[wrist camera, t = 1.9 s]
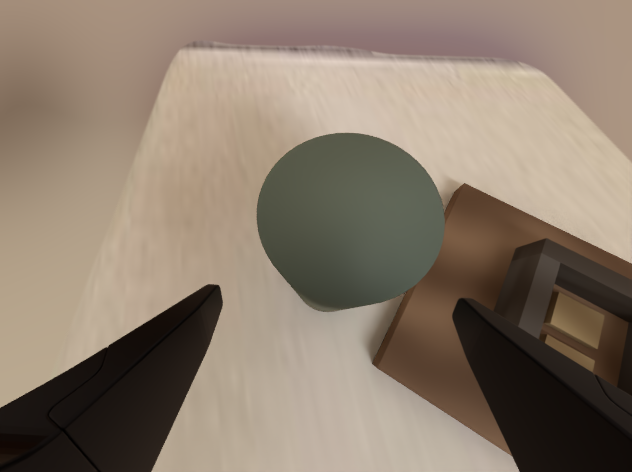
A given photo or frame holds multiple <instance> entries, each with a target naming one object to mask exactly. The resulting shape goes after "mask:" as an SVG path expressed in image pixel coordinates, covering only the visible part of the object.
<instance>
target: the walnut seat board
mask: <svg viewBox="0 0 632 472" xmlns="http://www.w3.org/2000/svg"><path fill="white" fill-rule="evenodd" d="M444 218H445V229H444V237H443V242H442V246H441V249H440V251H439V254H438V256H437V258H436V260H435V262H434V264H433V266H432V267H431V268H430V270H429V271H428V272H427V274H426V275H425V276H424V277H423V278H422V279H421V280H420V281H419V282H418V283H417V284H416V285H414V286H413V287H412V288H410V289H409V290H408V291H407V292H406V294H405V296H404V298H403V300H402V302H401V305H400V307H399V309H398V311H397V313H396V315H395V317H394V319H393V321H392V323H391V326H390V328H389V330H388V332H387V334H386V336H385V338H384V340H383V342H382V344H381V346H380V349H379V351H378V353H377V355H376V357H375V359H374V361H373V363H372V364H373V365H374V366H376V367H377V368H378V369H379V370H381V371H383V372H384V373H386V374H387V375H389V376H390V377H392V378H393V379H395V380H396V381H398V382H399V383H401V384H402V385H404V386H406V387H407V388H409V389H410V390H412V391H413V392H415V393H416V394H418V395H419V396H421V397H422V398H424V399H425V400H427V401H428V402H430V403H432V404H433V405H435V406H436V407H438V408H439V409H441V410H442V411H444V412H445V413H447V414H448V415H450V416H451V417H453V418H455V419H456V420H458V421H459V422H461V423H462V424H464V425H465V426H467V427H468V428H470V429H471V430H473V431H474V432H476V433H477V434H479V435H481V436H482V437H484V438H485V439H487V440H488V441H490V442H491V443H493V444H494V445H496V446H497V447H499V448H500V449H502V450H503V451H505V452H507V453H508V454H510V455H511V456H512V454H511V452H510V450H509V448H508V446H507V444H506V442H505V439H504V437H503V435H502V433H501V431H500V429H499V427H498V425H497V423H496V420H495V418H494V416H493V414H492V412H491V410H490V408H489V406H488V404H487V401H486V399H485V397H484V395H483V393H482V391H481V389H480V387H479V385H478V382H477V380H476V378H475V376H474V374H473V372H472V370H471V368H470V365H469V363H468V361H467V359H466V356H465V353H464V351H463V348H462V345H461V342H460V339H459V337H458V334H457V331H456V328H455V325H454V323H453V320H452V313H453V310H454V308H455V306H456V303H457V301H458V299H459V298H461V297H464V298H472V299H474V300H476V301H478V302H479V303H481V304H482V305H484V306H486V307H487V308H489V309H491V310H492V311H494V312H495V313H497V314H499V315H500V316H502V317H504V318H505V319H507V320H508V321H510V322H512V323H513V324H515V325H517V326H518V327H520V328H521V329H523V330H525V331H526V332H528V333H530V334H531V335H533V336H534V337H536V338H538V339H539V340H541V341H543V342H544V343H546V344H547V345H549V346H551V347H552V348H554V349H556V350H557V351H559V352H560V353H562V354H564V355H565V356H567V357H569V358H570V359H572V360H573V361H575V362H577V363H578V364H580V365H582V366H583V367H585V368H586V369H588V370H590V371H591V372H593V373H594V375H598V376H600V377H601V378H603V379H604V380H606V381H608V382H609V383H611V384H612V385H614V386H616V387H617V388H619V389H621V390H622V391H624V392H626V393H627V394H629V395H631V396H632V264H631V263H629V262H627V261H625V260H623V259H621V258H619V257H617V256H615V255H613V254H610V253H608V252H606V251H604V250H602V249H600V248H598V247H596V246H594V245H592V244H590V243H588V242H586V241H583V240H581V239H579V238H577V237H575V236H573V235H571V234H569V233H567V232H565V231H563V230H561V229H559V228H556V227H554V226H552V225H550V224H548V223H546V222H544V221H542V220H540V219H538V218H536V217H534V216H532V215H529V214H527V213H525V212H523V211H521V210H519V209H517V208H515V207H513V206H511V205H509V204H507V203H505V202H502V201H500V200H498V199H496V198H494V197H492V196H490V195H488V194H486V193H484V192H482V191H480V190H478V189H475V188H473V187H471V186H469V185H467V184H465V183H464V184H463V185H462V186H461V187H459V188H458V189H457V190H456V191H455V192H454V194H453V196H452V198H451V200H450V202H449V204H448V206H447V208H446V210H445V213H444Z"/></svg>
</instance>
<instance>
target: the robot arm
mask: <svg viewBox="0 0 632 472" xmlns="http://www.w3.org/2000/svg"><path fill="white" fill-rule="evenodd" d="M222 306H223V300H222V295H221V289H220V286H219V285H214V284H208V285H206V286H204V287H202V288H201V289H199V290H198V291H196V292H194V293H193V294H191V295H190V296H188V297H186V298H185V299H183V300H182V301H180V302H178V303H177V304H175V305H173V306H172V307H170V308H169V309H167V310H165V311H164V312H162V313H161V314H159V315H157V316H156V317H154V318H152V319H151V320H149V321H148V322H146V323H144V324H143V325H141V326H140V327H138V328H136V329H135V330H133V331H131V332H130V333H128V334H127V335H125V336H123V337H122V338H120V339H119V340H117V341H115V342H114V343H112V344H110V345H109V346H108V348H107V347H106V348H104V349H102V350H101V351H99V352H97V353H96V354H94V355H93V356H91V357H89V358H88V359H86V360H84V361H83V362H81V363H79V364H78V365H76V366H74V367H73V368H71V369H69V370H67V371H66V372H64V373H62V374H60V375H59V376H57V377H55V378H53V379H52V380H50V381H48V382H46V383H45V384H43V385H41V386H39V387H37V388H36V389H34V390H32V391H30V392H28V393H26V394H25V395H23V396H21V397H19V398H18V399H16V400H14V401H12V402H10V403H8V404H7V405H5V406H3V407H1V408H0V472H151V471H152V469H153V467H154V465H155V462H156V460H157V458H158V456H159V454H160V452H161V449H162V447H163V445H164V443H165V441H166V439H167V436H168V434H169V432H170V430H171V428H172V426H173V423H174V421H175V419H176V417H177V415H178V413H179V410H180V408H181V406H182V404H183V402H184V399H185V397H186V395H187V393H188V391H189V389H190V386H191V384H192V382H193V380H194V378H195V376H196V373H197V371H198V369H199V367H200V365H201V363H202V360H203V358H204V356H205V354H206V352H207V349H208V347H209V345H210V342H211V339H212V336H213V333H214V330H215V327H216V324H217V321H218V318H219V315H220V312H221V309H222ZM452 320H453V323H454V325H455V328H456V331H457V334H458V337H459V339H460V342H461V345H462V348H463V351H464V353H465V356H466V359H467V361H468V363H469V365H470V368H471V370H472V372H473V374H474V376H475V378H476V380H477V382H478V385H479V387H480V389H481V391H482V393H483V395H484V397H485V399H486V401H487V404H488V406H489V408H490V410H491V412H492V414H493V416H494V418H495V420H496V423H497V425H498V427H499V429H500V431H501V433H502V435H503V437H504V439H505V442H506V444H507V446H508V448H509V450H510V452H511V454H512V456H513V459H514V461H515V463H516V465H517V467H518V469H519V471H520V472H632V396H631V395H629V394H627V393H626V392H624V391H622V390H621V389H619V388H617V387H616V386H614V385H612V384H611V383H609V382H608V381H606V380H604V379H603V378H601V377H600V376H598V375H594V373H593V372H591V371H590V370H588V369H586V368H585V367H583V366H582V365H580V364H578V363H577V362H575V361H573V360H572V359H570V358H569V357H567V356H565V355H564V354H562V353H560V352H559V351H557V350H556V349H554V348H552V347H551V346H549V345H547V344H546V343H544V342H543V341H541V340H539V339H538V338H536V337H534V336H533V335H531V334H530V333H528V332H526V331H525V330H523V329H521V328H520V327H518V326H517V325H515V324H513V323H512V322H510V321H508V320H507V319H505V318H504V317H502V316H500V315H499V314H497V313H495V312H494V311H492V310H491V309H489V308H487V307H486V306H484V305H482V304H481V303H479V302H478V301H476V300H474V299H472V298H464V297H461V298H459V299H458V301H457V303H456V306H455V308H454V310H453V313H452Z"/></svg>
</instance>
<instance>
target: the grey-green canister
mask: <svg viewBox="0 0 632 472" xmlns="http://www.w3.org/2000/svg"><path fill="white" fill-rule="evenodd" d="M257 225H258V232H259V235H260V239H261V243H262V245H263V247H264V250H265V252H266V254H267V256H268V257H269V259H270V261H271V262H272V264H273V265H274V266H275V268H276V269H277V270H278V271H279V272H280V274H281V275H282V276H283V277H284V278H285V280H286V281H287V282H288V283H289V284H290V285H291V287H292V288H293V289H294V290H295V291H296V293H297V294H298V295H299V296H300V297H301V298H302V300H303V301H304V302H305V303H306V304H307V305H309V306H310V307H312V308H313V309H316V310H318V311H323V312H333V311H338V310H343V309H349V308H354V307H360V306H365V305H371V304H375V303H380V302H384V301H387V300H389V299H392V298H395V297H397V296H399V295H401V294H402V293H404V292H406V291H408V290H409V289H410V288H412V287H413V286H414V285H416V284H417V283H418V282H419V281H420V280H421V279H422V278H423V277H424V276H425V275H426V274H427V272H428V271H429V270H430V268H431V267H432V266H433V264H434V262H435V260H436V258H437V256H438V254H439V251H440V249H441V246H442V242H443V237H444V229H445V218H444V209H443V205H442V201H441V197H440V195H439V192H438V190H437V187H436V186H435V184H434V182H433V180H432V178H431V177H430V176H429V174H428V173H427V172H426V170H425V169H424V168H423V167H422V166H421V165H420V163H419V162H418V161H417V160H415V159H414V158H413V157H412V156H411V155H410V154H408V153H407V152H405V151H404V150H402V149H401V148H399V147H398V146H396V145H394V144H392V143H390V142H388V141H385V140H383V139H380V138H377V137H373V136H370V135H364V134H358V133H335V134H329V135H324V136H320V137H316V138H313V139H311V140H308V141H306V142H304V143H302V144H300V145H298V146H296V147H295V148H293V149H292V150H291V151H289V152H288V153H286V154H285V155H284V156H283V157H282V158H281V159H280V160H279V161H278V162H277V163H276V164H275V166H274V167H273V168H272V170H271V171H270V173H269V174H268V176H267V177H266V179H265V182H264V184H263V186H262V188H261V192H260V195H259V199H258V205H257Z"/></svg>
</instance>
